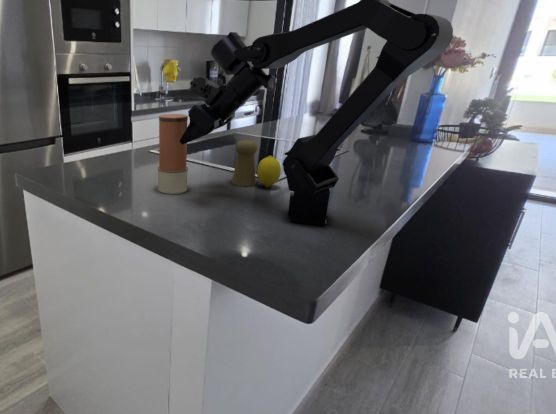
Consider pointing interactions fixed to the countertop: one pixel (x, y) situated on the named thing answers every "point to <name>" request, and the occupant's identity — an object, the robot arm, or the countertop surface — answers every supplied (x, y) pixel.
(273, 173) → the lemon
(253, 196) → the countertop surface
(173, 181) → the short cream cylinder
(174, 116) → the terracotta tall cylinder
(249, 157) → the cork
